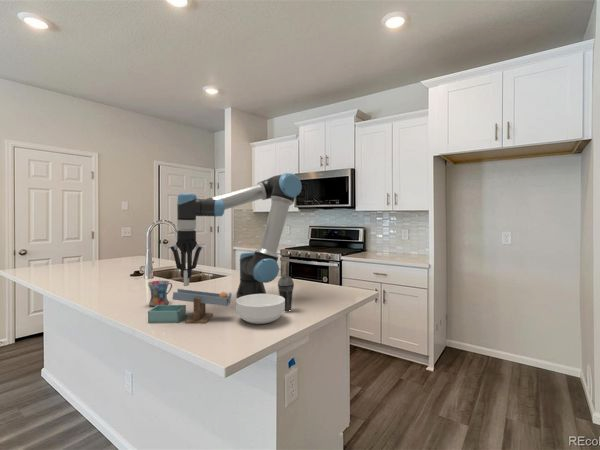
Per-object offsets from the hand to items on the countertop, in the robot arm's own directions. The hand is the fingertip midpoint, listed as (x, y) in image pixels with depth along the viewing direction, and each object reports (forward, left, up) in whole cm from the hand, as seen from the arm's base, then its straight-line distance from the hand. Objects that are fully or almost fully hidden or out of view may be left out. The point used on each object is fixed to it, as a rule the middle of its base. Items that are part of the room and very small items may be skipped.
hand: (186, 285), depth 140 cm
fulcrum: (-7, +6, -12) cm, 16 cm away
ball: (-17, +6, -3) cm, 18 cm away
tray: (+6, +6, -12) cm, 15 cm away
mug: (+17, -16, -13) cm, 26 cm away
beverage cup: (-42, -5, -13) cm, 44 cm away
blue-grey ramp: (-8, +3, -5) cm, 10 cm away
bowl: (-32, +8, -13) cm, 36 cm away
